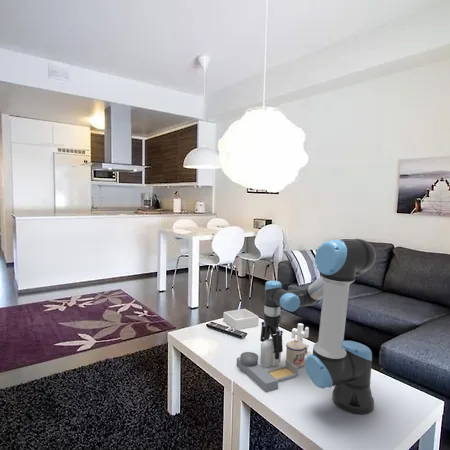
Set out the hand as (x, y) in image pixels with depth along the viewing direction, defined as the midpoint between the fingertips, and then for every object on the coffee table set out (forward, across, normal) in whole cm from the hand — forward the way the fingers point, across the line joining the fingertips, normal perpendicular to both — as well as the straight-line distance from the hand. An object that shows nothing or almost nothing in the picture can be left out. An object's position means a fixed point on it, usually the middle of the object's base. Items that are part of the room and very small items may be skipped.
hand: (270, 361), depth 157 cm
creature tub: (+2, +50, -13) cm, 52 cm away
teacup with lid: (+2, -4, -13) cm, 14 cm away
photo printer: (+2, 0, 0) cm, 2 cm away
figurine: (+2, +4, -21) cm, 21 cm away
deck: (+2, -6, +5) cm, 8 cm away
